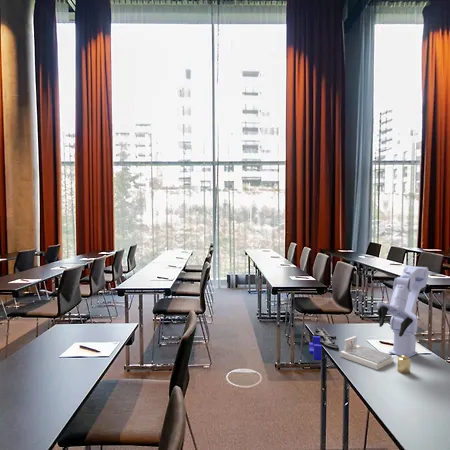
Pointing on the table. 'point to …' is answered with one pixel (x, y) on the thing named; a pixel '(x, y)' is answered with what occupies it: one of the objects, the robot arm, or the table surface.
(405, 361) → the brass weight
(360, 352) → the pan
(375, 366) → the scale base
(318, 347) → the blue stepped block
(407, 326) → the robot arm
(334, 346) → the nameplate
